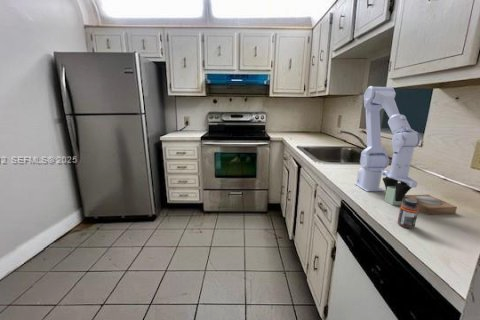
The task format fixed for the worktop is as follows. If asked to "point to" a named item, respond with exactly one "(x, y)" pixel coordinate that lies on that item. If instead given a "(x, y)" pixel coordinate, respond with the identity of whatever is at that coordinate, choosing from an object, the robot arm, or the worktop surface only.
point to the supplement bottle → (408, 213)
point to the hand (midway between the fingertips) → (393, 198)
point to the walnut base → (431, 204)
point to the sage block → (391, 196)
